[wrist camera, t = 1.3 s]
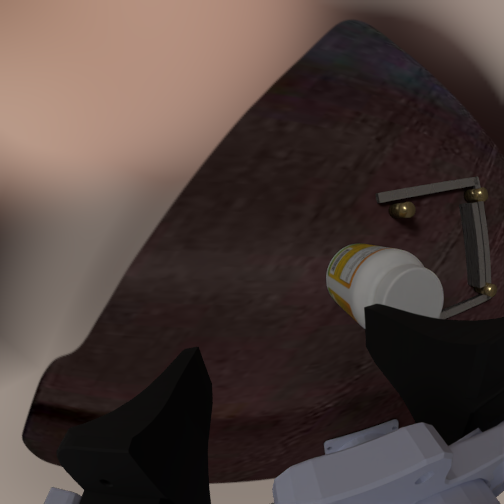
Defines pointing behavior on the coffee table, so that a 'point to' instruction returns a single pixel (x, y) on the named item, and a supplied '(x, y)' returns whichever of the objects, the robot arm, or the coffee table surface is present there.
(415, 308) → the supplement bottle
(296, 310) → the coffee table surface
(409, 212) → the frame
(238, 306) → the coffee table surface
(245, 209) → the coffee table surface
